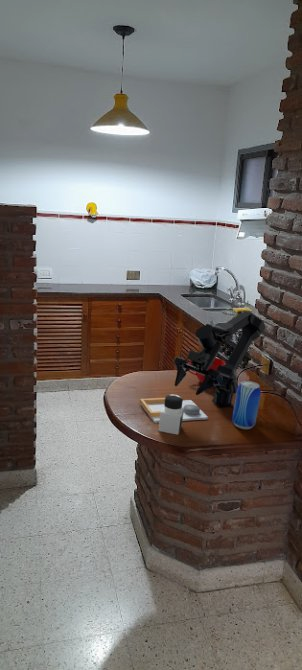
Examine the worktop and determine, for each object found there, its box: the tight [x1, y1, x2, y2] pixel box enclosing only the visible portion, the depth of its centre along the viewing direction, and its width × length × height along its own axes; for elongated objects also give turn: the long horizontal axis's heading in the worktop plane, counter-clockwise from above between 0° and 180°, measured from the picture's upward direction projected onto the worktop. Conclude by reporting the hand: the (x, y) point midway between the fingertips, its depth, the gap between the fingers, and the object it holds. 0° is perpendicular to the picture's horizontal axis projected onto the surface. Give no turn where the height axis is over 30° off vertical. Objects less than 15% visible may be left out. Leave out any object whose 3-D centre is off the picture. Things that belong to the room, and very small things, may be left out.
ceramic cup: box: [187, 357, 226, 384], centre depth 215 cm, size 13×17×10 cm
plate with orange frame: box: [139, 397, 209, 424], centre depth 183 cm, size 22×15×2 cm
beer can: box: [231, 380, 262, 430], centre depth 177 cm, size 8×8×16 cm
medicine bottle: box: [158, 394, 184, 435], centre depth 168 cm, size 7×7×12 cm
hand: (185, 390), depth 171 cm, fingers open, 9 cm apart
